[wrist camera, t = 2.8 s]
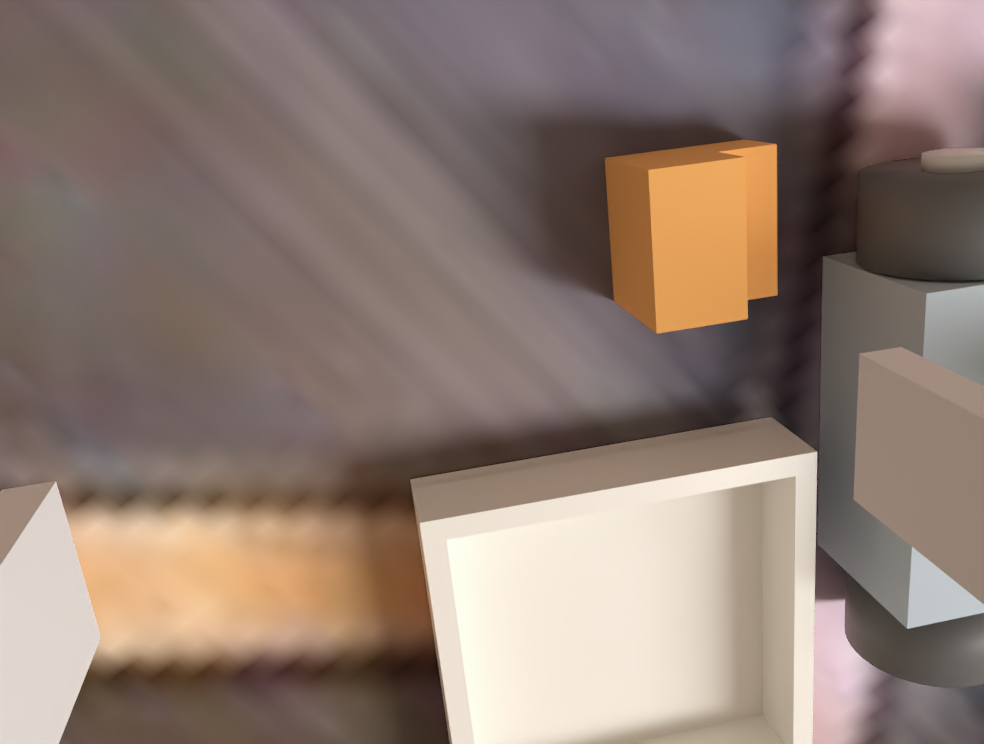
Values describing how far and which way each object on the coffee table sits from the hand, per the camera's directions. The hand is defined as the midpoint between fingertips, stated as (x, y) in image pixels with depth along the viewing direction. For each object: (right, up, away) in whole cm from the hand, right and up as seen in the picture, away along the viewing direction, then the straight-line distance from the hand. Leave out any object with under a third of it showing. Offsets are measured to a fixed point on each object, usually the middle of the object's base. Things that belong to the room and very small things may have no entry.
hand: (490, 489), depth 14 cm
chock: (+6, +7, +17) cm, 20 cm away
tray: (+5, -7, +21) cm, 23 cm away
